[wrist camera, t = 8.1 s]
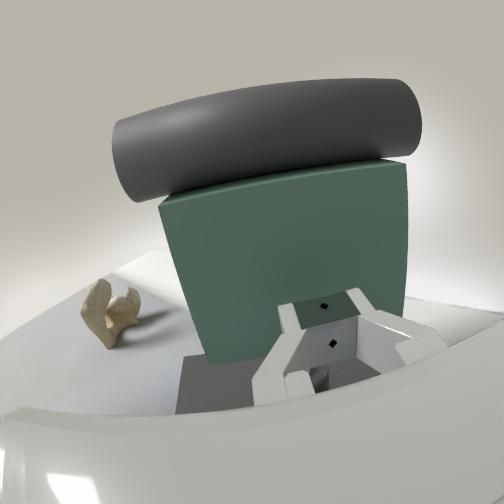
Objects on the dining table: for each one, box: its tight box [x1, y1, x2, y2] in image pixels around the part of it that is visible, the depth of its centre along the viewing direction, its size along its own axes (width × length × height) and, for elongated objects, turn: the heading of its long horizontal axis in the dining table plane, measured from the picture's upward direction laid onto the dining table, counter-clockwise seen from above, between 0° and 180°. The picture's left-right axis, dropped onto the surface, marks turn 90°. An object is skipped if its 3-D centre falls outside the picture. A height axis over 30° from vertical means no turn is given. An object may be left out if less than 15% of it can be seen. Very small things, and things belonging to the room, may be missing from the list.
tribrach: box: [175, 354, 381, 415], centre depth 18 cm, size 20×14×7 cm
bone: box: [80, 279, 141, 349], centre depth 32 cm, size 9×6×10 cm
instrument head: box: [112, 78, 422, 366], centre depth 14 cm, size 13×6×14 cm, turn 94°
